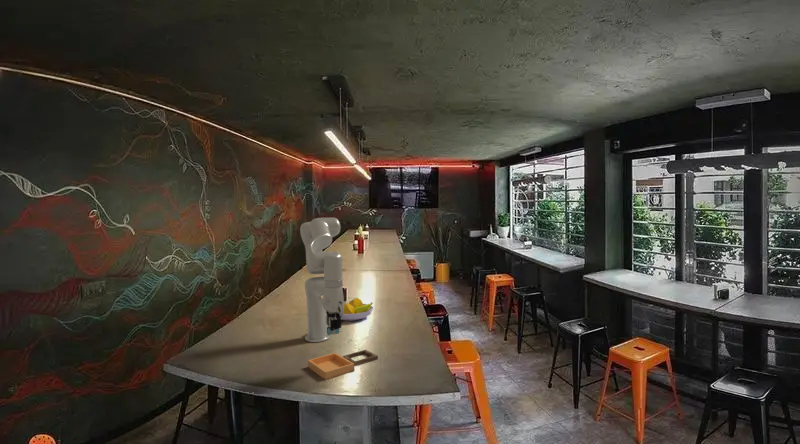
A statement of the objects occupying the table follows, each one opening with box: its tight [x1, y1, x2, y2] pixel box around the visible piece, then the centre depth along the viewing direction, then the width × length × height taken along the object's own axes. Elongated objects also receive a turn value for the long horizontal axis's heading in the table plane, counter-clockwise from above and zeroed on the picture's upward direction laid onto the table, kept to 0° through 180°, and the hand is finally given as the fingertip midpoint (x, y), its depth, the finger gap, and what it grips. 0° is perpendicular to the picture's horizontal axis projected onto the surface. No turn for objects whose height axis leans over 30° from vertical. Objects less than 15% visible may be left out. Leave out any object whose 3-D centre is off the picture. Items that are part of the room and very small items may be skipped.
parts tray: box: [307, 352, 356, 381], centre depth 162 cm, size 16×13×3 cm
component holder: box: [342, 349, 379, 367], centre depth 172 cm, size 10×12×2 cm
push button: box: [326, 311, 343, 336], centre depth 163 cm, size 7×5×10 cm
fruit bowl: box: [337, 297, 375, 322], centre depth 237 cm, size 28×27×11 cm
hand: (334, 326), depth 163 cm, fingers closed on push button, 4 cm apart
